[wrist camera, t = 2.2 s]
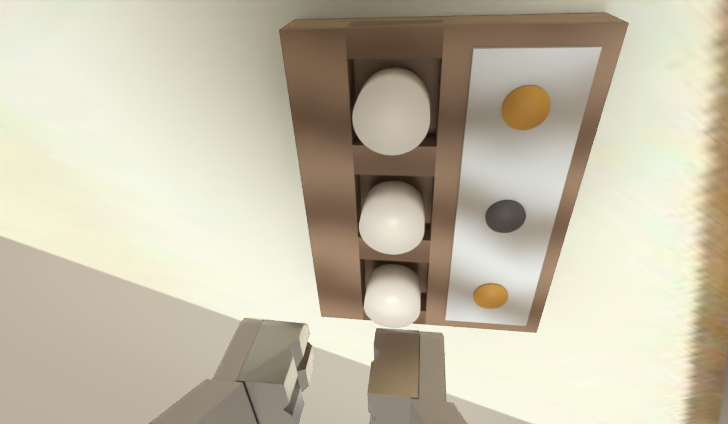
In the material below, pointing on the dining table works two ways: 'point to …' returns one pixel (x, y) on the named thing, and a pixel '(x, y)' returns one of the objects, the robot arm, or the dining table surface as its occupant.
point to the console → (453, 153)
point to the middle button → (392, 218)
